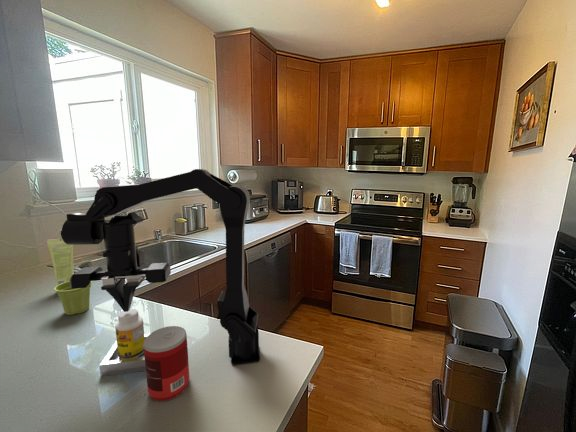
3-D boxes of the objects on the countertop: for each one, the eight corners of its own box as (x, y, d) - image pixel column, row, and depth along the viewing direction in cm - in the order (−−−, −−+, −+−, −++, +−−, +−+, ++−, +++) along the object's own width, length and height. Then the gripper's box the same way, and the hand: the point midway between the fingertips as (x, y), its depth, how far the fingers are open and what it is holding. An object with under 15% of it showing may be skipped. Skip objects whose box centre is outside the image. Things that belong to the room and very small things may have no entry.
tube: (68, 286, 107) (61, 236, 104) (80, 287, 106) (73, 236, 103) (53, 292, 101) (46, 240, 98) (65, 293, 100) (58, 240, 97)
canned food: (194, 372, 61) (191, 325, 59) (181, 402, 53) (178, 348, 51) (158, 373, 61) (154, 325, 59) (140, 403, 53) (135, 349, 51)
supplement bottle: (113, 356, 64) (108, 315, 63) (136, 343, 69) (132, 304, 68) (127, 364, 62) (123, 321, 60) (150, 350, 67) (147, 310, 65)
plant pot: (75, 319, 83) (72, 292, 81) (49, 316, 85) (45, 289, 83) (102, 305, 92) (99, 279, 90) (78, 302, 94) (75, 277, 92)
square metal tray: (166, 341, 72) (166, 332, 71) (155, 369, 62) (155, 358, 61) (119, 346, 70) (118, 337, 69) (100, 376, 60) (99, 365, 59)
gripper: (173, 233, 71) (177, 292, 73) (90, 237, 67) (98, 298, 70) (162, 245, 60) (167, 313, 62) (63, 250, 57) (73, 322, 59)
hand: (127, 310), depth 64 cm, fingers closed
